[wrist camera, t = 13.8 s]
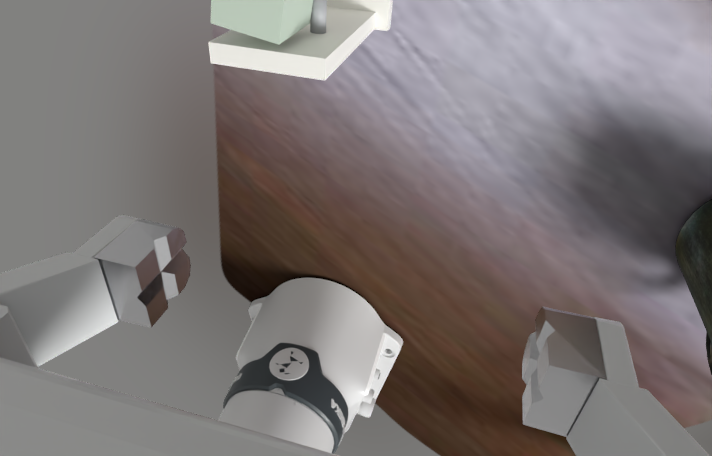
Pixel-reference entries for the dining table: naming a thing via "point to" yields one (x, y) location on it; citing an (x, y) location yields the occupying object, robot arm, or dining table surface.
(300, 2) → the shelf board
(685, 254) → the mug
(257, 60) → the shelf unit
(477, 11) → the dining table surface
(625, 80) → the dining table surface
